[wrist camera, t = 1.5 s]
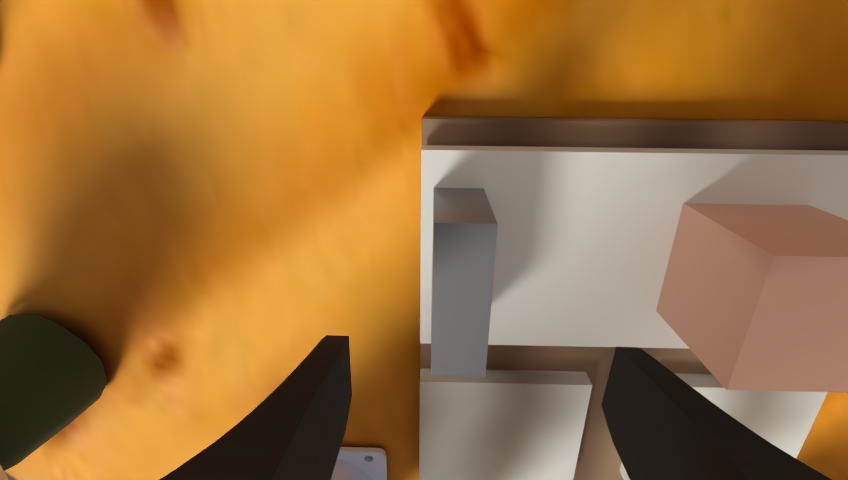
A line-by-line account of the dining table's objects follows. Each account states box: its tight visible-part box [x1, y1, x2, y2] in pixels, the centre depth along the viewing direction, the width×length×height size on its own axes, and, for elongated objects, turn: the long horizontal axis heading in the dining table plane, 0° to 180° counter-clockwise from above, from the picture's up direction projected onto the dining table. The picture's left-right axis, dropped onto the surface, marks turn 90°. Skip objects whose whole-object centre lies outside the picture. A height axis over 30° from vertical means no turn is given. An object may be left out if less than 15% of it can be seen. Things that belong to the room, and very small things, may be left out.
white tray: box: [420, 145, 848, 377], centre depth 17 cm, size 20×9×5 cm, turn 89°
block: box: [656, 203, 848, 393], centre depth 16 cm, size 5×5×5 cm
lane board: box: [419, 116, 848, 480], centre depth 21 cm, size 20×21×2 cm
